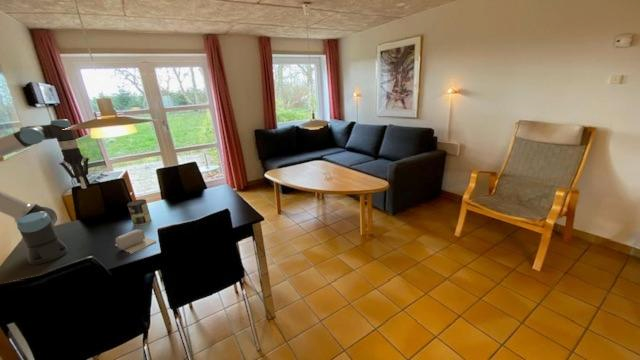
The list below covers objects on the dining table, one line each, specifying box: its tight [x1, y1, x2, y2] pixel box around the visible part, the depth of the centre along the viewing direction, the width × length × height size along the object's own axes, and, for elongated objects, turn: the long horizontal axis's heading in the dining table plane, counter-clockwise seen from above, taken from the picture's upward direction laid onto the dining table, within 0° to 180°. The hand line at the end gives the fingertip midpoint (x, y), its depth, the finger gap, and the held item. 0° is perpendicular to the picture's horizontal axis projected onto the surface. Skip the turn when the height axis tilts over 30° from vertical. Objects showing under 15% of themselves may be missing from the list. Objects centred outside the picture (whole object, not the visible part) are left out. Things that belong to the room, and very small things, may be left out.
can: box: [114, 228, 146, 251], centre depth 146 cm, size 8×8×12 cm
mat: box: [114, 235, 157, 255], centre depth 150 cm, size 13×18×1 cm
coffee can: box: [126, 198, 152, 226], centre depth 174 cm, size 10×10×14 cm
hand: (84, 187), depth 156 cm, fingers closed
